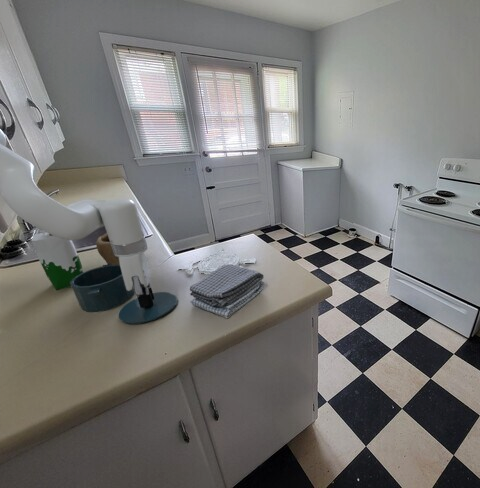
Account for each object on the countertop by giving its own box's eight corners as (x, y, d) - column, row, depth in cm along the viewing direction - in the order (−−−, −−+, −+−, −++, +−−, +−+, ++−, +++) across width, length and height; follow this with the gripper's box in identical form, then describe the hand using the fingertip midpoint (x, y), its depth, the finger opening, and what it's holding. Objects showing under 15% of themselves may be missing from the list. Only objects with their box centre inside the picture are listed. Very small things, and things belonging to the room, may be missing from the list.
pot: (71, 323, 74) (59, 297, 71) (89, 289, 90) (80, 266, 86) (130, 309, 80) (121, 284, 76) (138, 279, 95) (131, 258, 92)
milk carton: (87, 283, 93) (65, 229, 85) (51, 292, 88) (24, 235, 80) (87, 273, 100) (66, 222, 92) (53, 281, 94) (28, 228, 86)
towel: (266, 289, 90) (264, 268, 87) (224, 321, 75) (220, 297, 72) (233, 278, 96) (230, 258, 93) (188, 306, 81) (182, 283, 78)
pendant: (217, 248, 120) (216, 245, 120) (265, 262, 107) (264, 259, 107) (171, 267, 103) (171, 264, 103) (222, 287, 90) (221, 284, 90)
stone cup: (115, 281, 94) (101, 242, 88) (95, 274, 99) (80, 236, 93) (155, 263, 107) (145, 227, 101) (136, 258, 111) (125, 223, 105)
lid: (115, 332, 71) (107, 311, 68) (124, 302, 83) (117, 284, 80) (177, 315, 77) (172, 296, 74) (177, 290, 89) (173, 273, 86)
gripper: (118, 238, 77) (136, 292, 84) (106, 261, 64) (128, 323, 71) (148, 234, 80) (163, 287, 87) (143, 255, 67) (161, 315, 74)
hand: (147, 302), depth 79 cm, fingers closed on lid, 2 cm apart
